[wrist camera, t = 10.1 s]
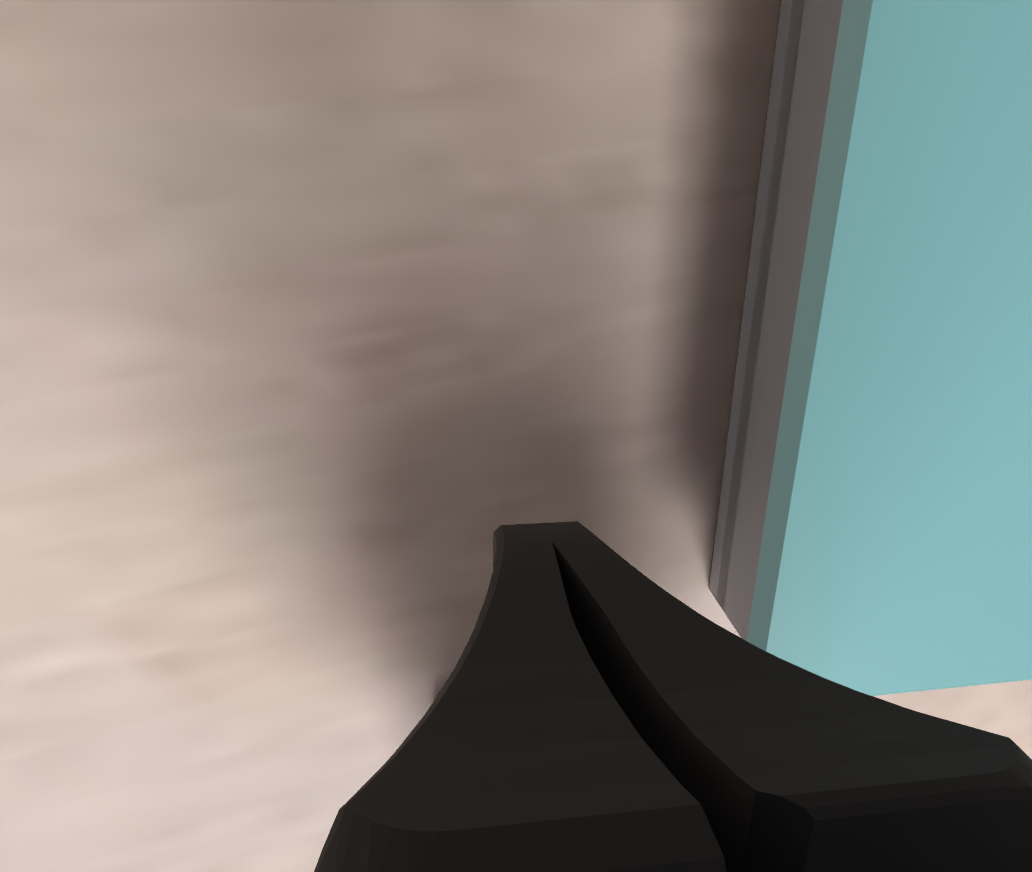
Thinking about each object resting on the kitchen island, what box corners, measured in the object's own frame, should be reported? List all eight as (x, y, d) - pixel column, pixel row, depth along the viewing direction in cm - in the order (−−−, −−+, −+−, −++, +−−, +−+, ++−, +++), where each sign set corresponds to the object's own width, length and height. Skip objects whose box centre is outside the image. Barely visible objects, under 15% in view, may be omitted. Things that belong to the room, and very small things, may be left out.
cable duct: (988, 567, 25) (1088, 641, 21) (708, 588, 24) (763, 670, 20) (1167, -52, 18) (1358, -99, 15) (789, -69, 17) (894, -125, 13)
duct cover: (1101, 646, 21) (1133, 668, 20) (740, 681, 20) (756, 707, 19) (1381, -102, 14) (1448, -119, 14) (862, -132, 13) (898, -152, 12)
